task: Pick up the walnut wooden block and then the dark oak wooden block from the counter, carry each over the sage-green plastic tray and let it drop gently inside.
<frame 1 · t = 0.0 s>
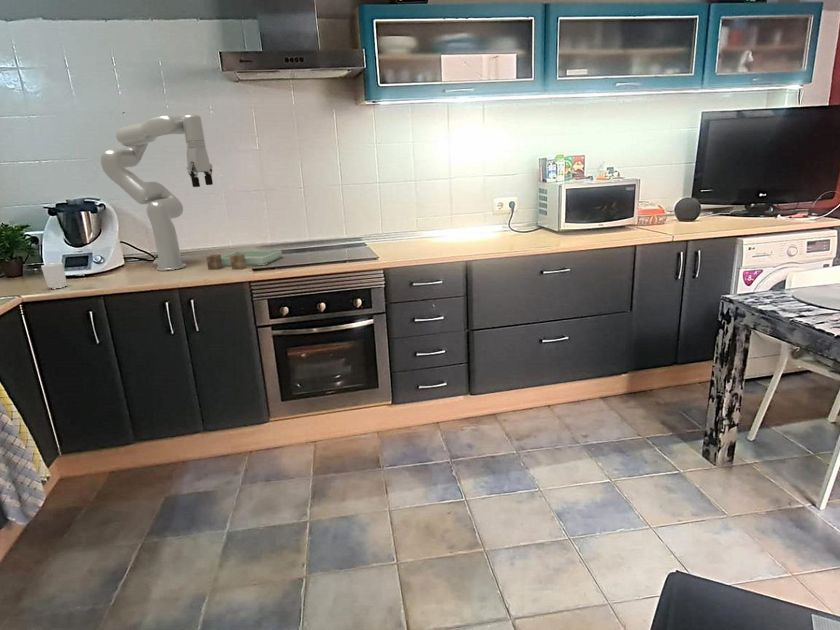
hand: (203, 185, 250), 37 cm above the countertop, tool pointing down, fingers open, 9 cm apart
white cup: (58, 288, 242), on the countertop
oak block: (239, 268, 257), on the countertop
tray: (250, 261, 270), on the countertop
walnut block: (215, 268, 260), on the countertop
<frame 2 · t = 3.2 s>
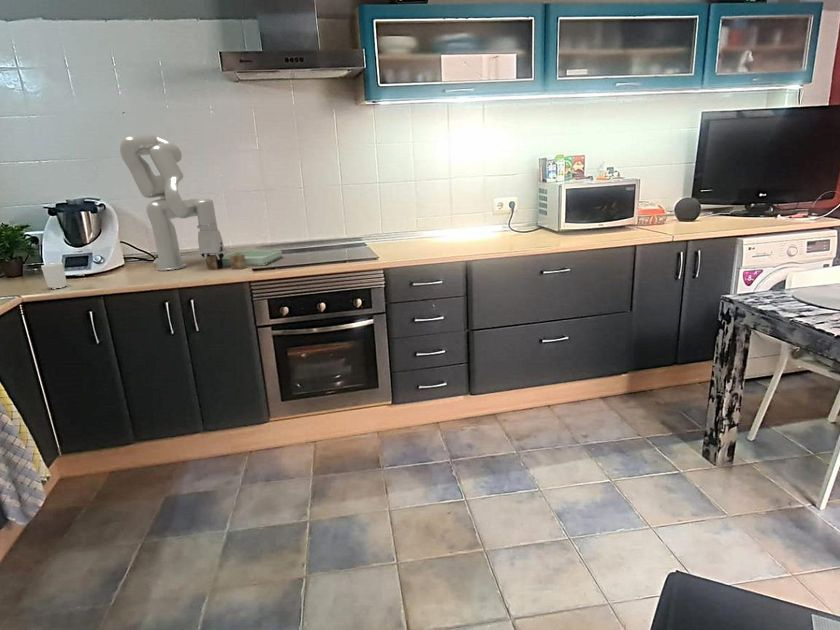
hand: (215, 267, 259), 1 cm above the countertop, tool pointing down, fingers closed on walnut block, 4 cm apart
walnut block: (215, 268, 260), on the countertop, touching gripper
everything else where it was.
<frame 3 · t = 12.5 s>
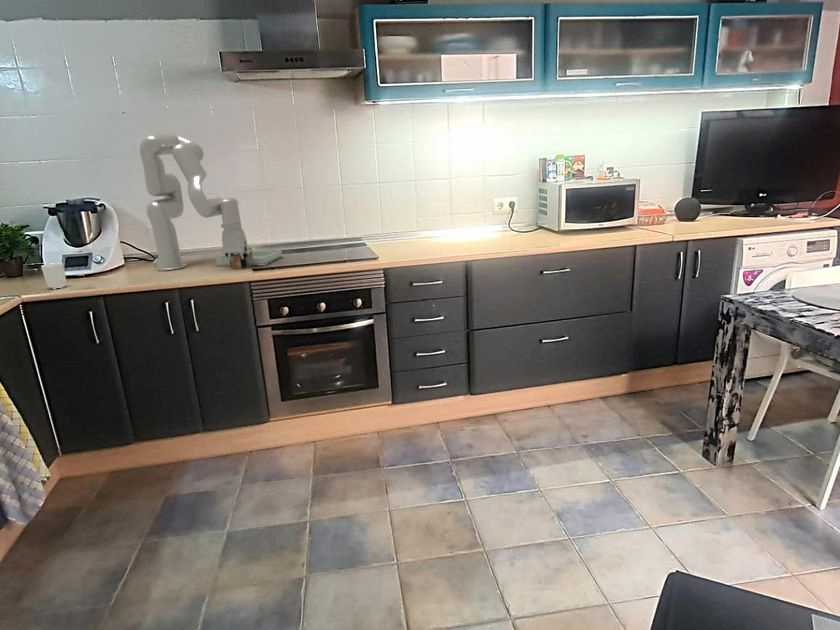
hand: (238, 267, 257), 1 cm above the countertop, tool pointing down, fingers closed on oak block, 4 cm apart
oak block: (239, 268, 257), on the countertop, touching gripper
walnut block: (246, 261, 267), point 1 cm above the countertop, touching tray
everything else where it was.
when the fingers open (4 cm above the countertop, at t = 17.8 s): oak block drops 2 cm, resting on tray.
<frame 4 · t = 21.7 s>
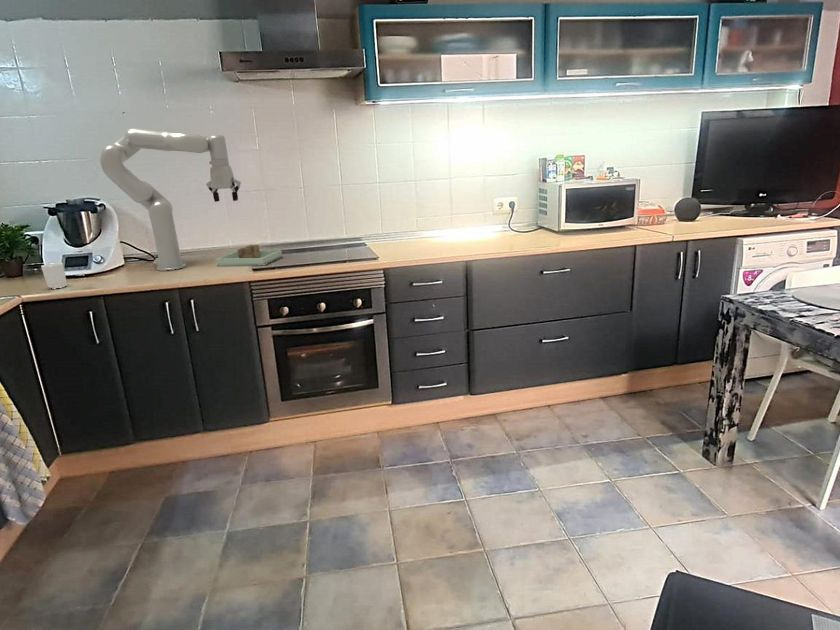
hand: (226, 201, 267), 28 cm above the countertop, tool pointing down, fingers open, 9 cm apart
oak block: (253, 258, 273), point 1 cm above the countertop, touching tray
everything else where it was.
at the end: walnut block inside the target area on the tray (3.0 cm from its centre), point 1.0 cm above the tray's base; oak block inside the target area on the tray (3.5 cm from its centre), point 1.0 cm above the tray's base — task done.
